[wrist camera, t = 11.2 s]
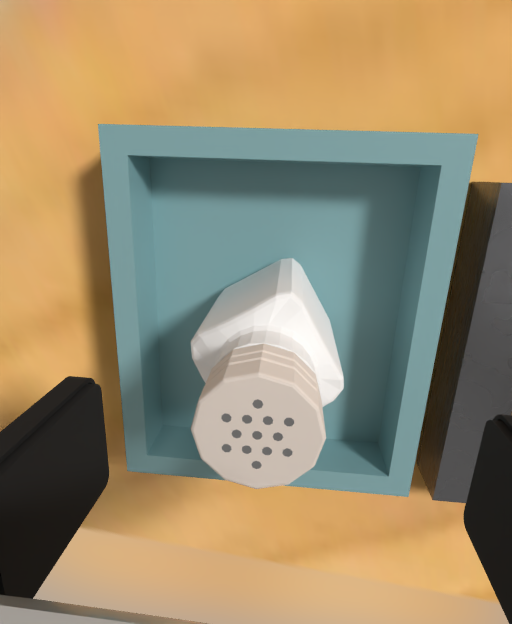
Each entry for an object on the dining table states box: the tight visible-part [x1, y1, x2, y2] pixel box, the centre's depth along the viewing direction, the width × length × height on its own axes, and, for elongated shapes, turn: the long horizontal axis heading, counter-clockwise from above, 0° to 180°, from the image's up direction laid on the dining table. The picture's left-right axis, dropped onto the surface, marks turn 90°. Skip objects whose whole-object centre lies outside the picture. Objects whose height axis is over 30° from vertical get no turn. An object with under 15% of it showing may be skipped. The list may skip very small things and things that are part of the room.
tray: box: [98, 124, 478, 497], centre depth 18 cm, size 13×15×3 cm
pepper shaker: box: [191, 258, 344, 489], centre depth 14 cm, size 4×4×10 cm
